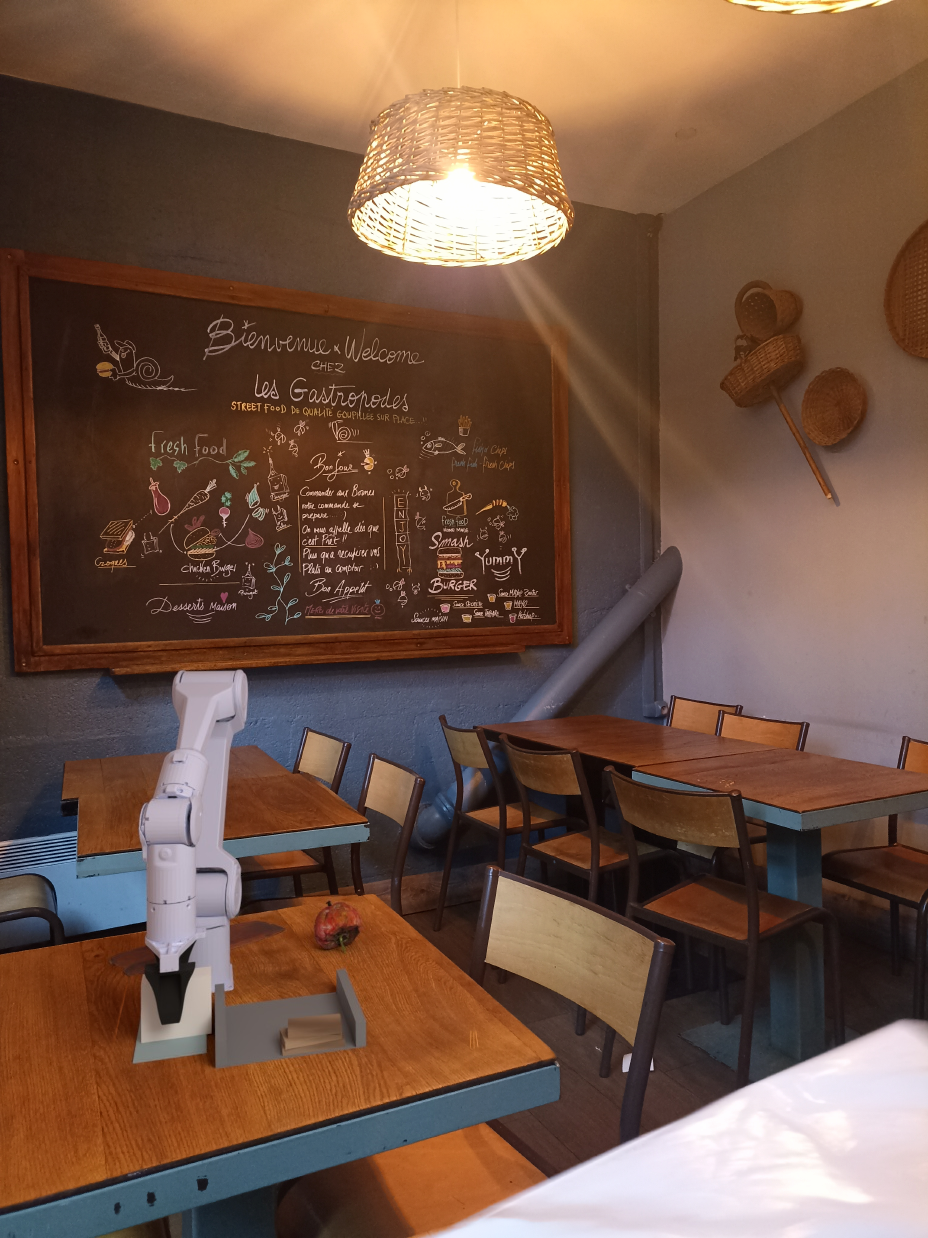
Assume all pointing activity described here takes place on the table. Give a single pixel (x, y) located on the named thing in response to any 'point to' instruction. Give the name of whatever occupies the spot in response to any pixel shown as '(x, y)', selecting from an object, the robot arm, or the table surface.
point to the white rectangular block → (193, 1014)
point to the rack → (281, 1023)
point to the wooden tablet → (238, 937)
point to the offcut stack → (312, 1034)
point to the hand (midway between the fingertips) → (172, 1009)
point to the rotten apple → (337, 925)
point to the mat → (168, 1047)
